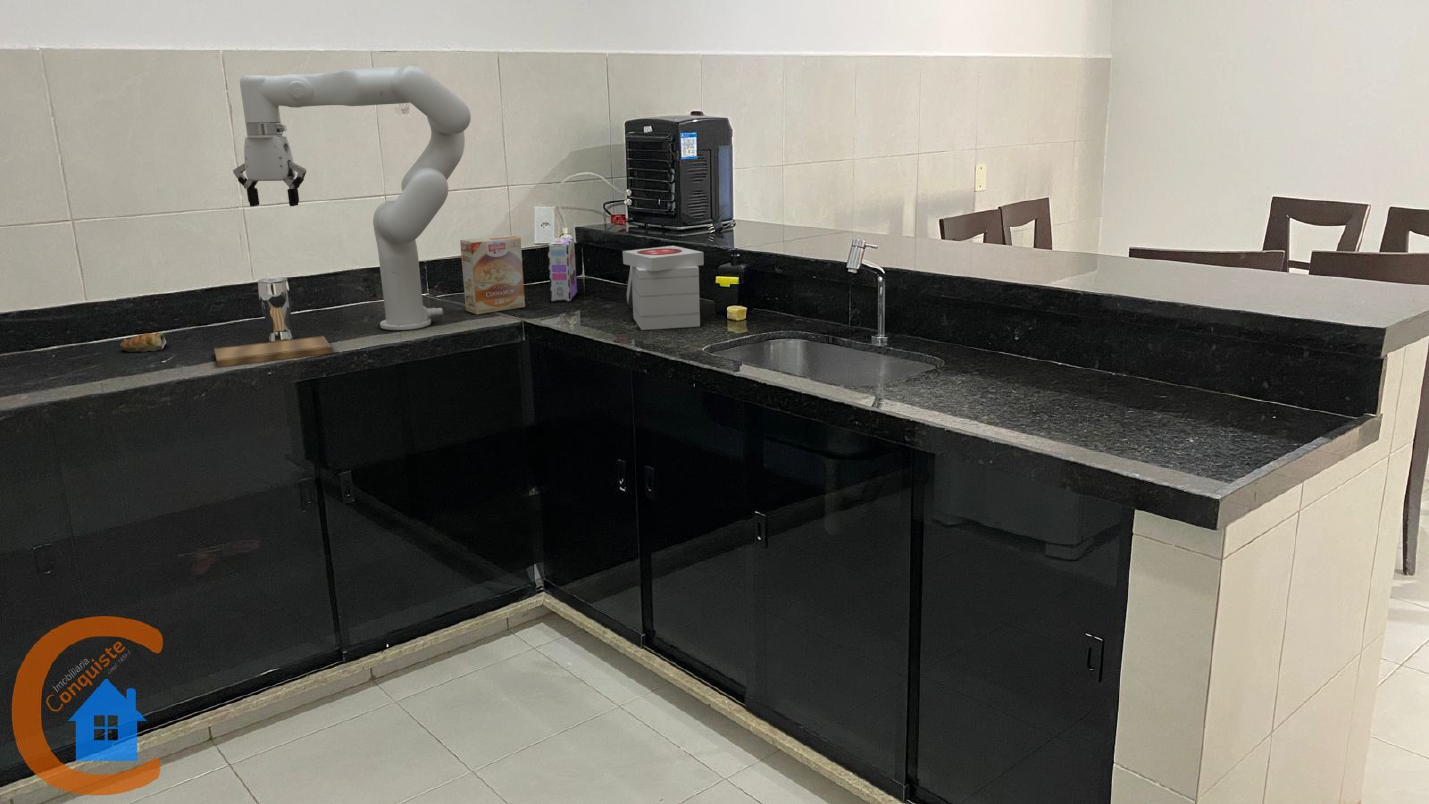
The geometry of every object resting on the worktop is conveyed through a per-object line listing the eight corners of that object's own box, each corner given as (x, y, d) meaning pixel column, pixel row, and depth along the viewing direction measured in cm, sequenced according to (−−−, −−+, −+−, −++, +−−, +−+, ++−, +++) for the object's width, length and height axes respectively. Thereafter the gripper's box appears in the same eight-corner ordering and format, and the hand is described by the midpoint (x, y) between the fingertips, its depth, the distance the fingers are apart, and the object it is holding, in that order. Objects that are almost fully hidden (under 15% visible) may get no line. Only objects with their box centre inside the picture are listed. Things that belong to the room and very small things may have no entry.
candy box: (571, 301, 289) (567, 243, 284) (550, 302, 289) (546, 243, 284) (577, 292, 302) (574, 236, 297) (558, 293, 302) (554, 237, 297)
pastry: (118, 354, 238) (115, 338, 237) (124, 348, 244) (122, 332, 243) (163, 350, 241) (160, 334, 240) (168, 344, 247) (165, 329, 246)
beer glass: (285, 344, 244) (276, 282, 240) (259, 343, 246) (250, 282, 242) (302, 337, 251) (294, 277, 247) (277, 337, 252) (268, 276, 248)
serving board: (324, 341, 246) (323, 335, 246) (332, 353, 235) (331, 346, 235) (215, 354, 236) (214, 348, 235) (218, 367, 225) (216, 360, 224)
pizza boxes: (687, 304, 282) (685, 239, 277) (709, 327, 254) (707, 255, 249) (618, 308, 278) (615, 242, 273) (632, 332, 250) (629, 259, 245)
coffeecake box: (476, 315, 274) (470, 242, 268) (465, 311, 279) (458, 239, 273) (526, 307, 283) (521, 236, 277) (514, 303, 288) (508, 234, 282)
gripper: (307, 129, 239) (317, 204, 244) (237, 130, 240) (247, 204, 245) (292, 130, 231) (302, 207, 236) (219, 131, 233) (230, 207, 238)
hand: (274, 205), depth 241 cm, fingers open, 9 cm apart
